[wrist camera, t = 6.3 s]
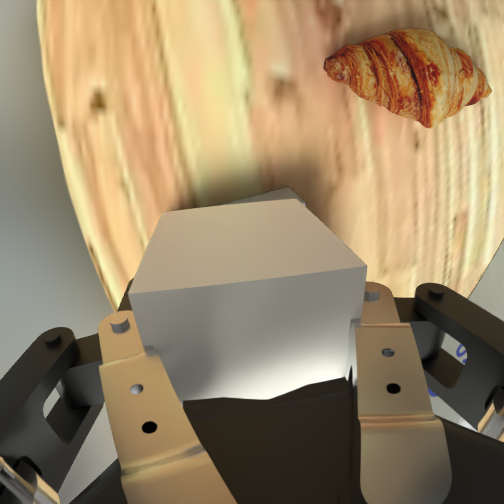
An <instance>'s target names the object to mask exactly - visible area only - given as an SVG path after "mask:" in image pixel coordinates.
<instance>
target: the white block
mask: <svg viewBox="0 0 504 504" xmlns="http://www.w3.org/2000/svg"><path fill="white" fill-rule="evenodd" d="M366 274H367V265H366V264H365V263H364V262H363V261H362V260H361V259H360V258H359V257H358V256H357V255H356V254H355V253H354V252H353V251H352V250H351V249H350V248H349V247H348V246H347V245H346V244H345V243H344V242H343V241H342V240H340V239H339V238H338V237H337V236H336V235H335V234H334V233H333V232H332V231H331V230H330V229H329V228H328V227H327V226H326V225H325V224H323V223H322V222H321V221H320V220H319V219H318V218H317V217H316V216H315V215H314V214H313V213H312V212H310V211H309V210H308V209H307V208H306V207H305V206H304V205H303V204H302V203H301V202H299V201H298V200H297V199H284V200H273V201H261V202H251V203H240V204H230V205H221V206H211V207H202V208H194V209H185V210H177V211H169V212H163V213H162V215H161V217H160V219H159V222H158V224H157V226H156V228H155V230H154V233H153V235H152V237H151V239H150V242H149V244H148V246H147V249H146V251H145V253H144V256H143V258H142V260H141V263H140V265H139V267H138V270H137V272H136V275H135V277H134V280H133V282H132V285H131V287H130V290H129V292H128V296H129V300H130V304H131V307H132V311H133V314H134V318H135V321H136V325H137V328H138V331H139V334H140V338H141V341H142V344H143V346H148V345H153V347H154V349H156V350H157V352H158V354H159V357H160V359H161V361H162V364H163V366H164V368H165V371H166V373H167V375H168V377H169V380H170V382H171V384H172V386H173V388H174V391H175V393H176V395H177V397H178V399H179V401H180V403H181V406H182V408H183V401H184V400H197V399H209V398H219V397H230V398H244V399H271V398H274V397H277V396H279V395H282V394H285V393H287V392H290V391H292V390H295V389H298V388H300V387H303V386H305V385H308V384H313V383H318V382H323V381H327V380H332V379H337V378H341V377H345V372H346V366H347V360H348V350H349V327H350V319H356V318H361V316H362V309H363V301H364V292H365V283H366Z"/></svg>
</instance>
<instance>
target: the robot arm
mask: <svg viewBox="0 0 504 504" xmlns="http://www.w3.org/2000/svg"><path fill="white" fill-rule="evenodd" d="M133 280H134V278H133V279H132V280H131V281H130V282H129V284H128V286H127V289H126V291H125V293H124V297H123V298H122V301H121V303H120V306H119V308H118V311H117V312H115V313H113V314H110V315H108V316H107V317H105V318H104V319H103V320H102V321H101V322H100V324H99V326H98V333H97V334H94V335H91V336H88V337H84V338H80V339H76V338H75V336H74V333H73V332H72V330H71V329H69V328H65V327H57V328H53V329H50V330H48V331H46V332H44V333H42V334H41V335H40V336H39V337H38V338H37V339H36V340H35V341H34V342H33V343H32V344H31V346H30V347H29V348H28V349H27V350H26V351H25V352H24V353H23V355H22V356H21V357H20V358H19V359H18V360H17V362H16V363H15V364H14V365H13V366H12V367H11V369H10V370H9V371H8V372H7V373H6V374H5V375H4V377H3V378H2V379H1V380H0V504H60V501H59V497H58V495H57V494H58V491H59V489H60V487H61V485H62V483H63V481H64V479H65V477H66V475H67V473H68V472H69V470H70V468H71V465H72V464H73V461H74V460H75V458H76V456H77V454H78V452H79V450H80V448H81V446H82V444H83V443H84V441H85V439H86V437H87V435H88V433H89V431H90V429H91V428H92V426H93V424H94V422H95V420H96V418H97V417H98V415H99V413H100V411H101V409H102V407H103V404H104V402H105V404H106V409H107V413H108V418H109V423H110V427H111V431H112V435H113V439H114V443H115V447H116V451H117V455H118V458H117V459H116V460H115V461H114V462H113V463H112V464H111V465H110V466H109V467H108V468H107V469H106V470H105V471H104V472H103V473H102V474H101V475H99V476H98V477H97V478H96V479H95V480H94V481H93V482H92V483H91V484H90V485H89V486H88V487H87V488H86V489H84V490H83V492H81V493H80V494H79V495H78V496H77V497H76V498H75V499H73V500H72V501H71V502H70V503H69V504H504V321H502V320H501V319H499V318H498V317H496V316H494V315H493V314H491V313H490V312H488V311H486V310H485V309H483V308H481V307H480V306H478V305H477V304H475V303H473V302H472V301H470V300H468V299H467V298H465V297H463V296H462V295H460V294H458V293H456V292H455V291H453V290H451V289H450V288H448V287H446V286H444V285H441V284H436V283H424V284H421V285H419V286H418V287H417V288H416V291H415V297H414V298H397V297H393V295H392V292H391V290H390V289H389V288H388V287H386V286H384V285H382V284H379V283H375V282H366V283H365V292H364V301H363V309H362V316H361V318H356V319H350V327H349V350H348V360H347V366H346V372H345V377H341V378H337V379H332V380H327V381H323V382H318V383H313V384H308V385H305V386H303V387H300V388H298V389H295V390H292V391H290V392H287V393H285V394H282V395H279V396H277V397H274V398H271V399H244V398H230V397H219V398H209V399H197V400H184V401H183V408H182V406H181V403H180V401H179V399H178V397H177V395H176V393H175V391H174V388H173V386H172V384H171V382H170V380H169V377H168V375H167V373H166V371H165V368H164V366H163V364H162V361H161V359H160V357H159V354H158V352H157V350H156V349H154V347H153V345H148V346H143V344H142V341H141V338H140V334H139V331H138V328H137V325H136V321H135V318H134V314H133V311H132V307H131V304H130V300H129V296H128V292H129V290H130V287H131V285H132V282H133ZM446 333H447V334H448V335H450V336H451V337H452V338H454V339H455V340H457V341H458V342H459V343H461V344H462V345H463V346H464V347H465V349H466V352H467V359H466V362H465V365H464V364H462V363H461V362H460V361H458V360H457V359H456V358H455V357H453V356H452V355H451V354H449V353H448V352H447V351H445V350H444V349H443V348H441V346H442V343H443V340H444V337H445V334H446ZM427 387H428V388H429V389H430V390H431V391H433V392H434V393H435V394H436V395H437V396H438V397H439V398H441V399H442V400H443V401H444V402H445V403H446V404H447V405H448V406H450V407H451V408H452V409H453V410H454V411H455V412H456V413H457V414H459V415H460V416H461V417H462V418H463V419H464V420H465V421H466V422H468V423H469V424H470V425H471V426H472V427H473V428H474V429H475V430H476V431H478V432H476V431H474V430H471V429H469V428H466V427H464V426H461V425H459V424H457V423H454V422H452V421H449V420H447V419H445V418H442V417H440V416H438V415H435V414H434V413H433V410H432V405H431V401H430V396H429V392H428V388H427ZM54 388H56V389H57V391H58V393H59V395H60V398H59V399H58V401H57V402H56V404H55V405H54V407H53V408H52V410H51V411H50V413H49V414H48V416H47V417H46V419H45V417H44V415H43V406H44V403H45V401H46V399H47V398H48V396H49V395H50V394H51V392H52V391H53V389H54Z"/></svg>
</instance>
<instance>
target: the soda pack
mask: <svg viewBox="0 0 504 504" xmlns="http://www.w3.org/2000/svg"><path fill="white" fill-rule="evenodd" d="M468 300H470V301H472V302H473V303H475V304H477V305H478V306H480V307H481V308H483V309H485V310H486V311H488V312H490V313H491V314H493V315H494V316H496V317H498V318H499V319H501V320H502V321H504V239H503V241H502V243H501V245H500V247H499V249H498V250H497V252H496V254H495V256H494V257H493V259H492V261H491V263H490V264H489V266H488V268H487V269H486V271H485V273H484V274H483V276H482V278H481V279H480V281H479V283H478V284H477V286H476V287H475V289H474V290H473V292H472V294H471V295H470V297H469V298H468ZM441 348H443V349H444V350H445V351H447V352H448V353H449V354H451V355H452V356H453V357H455V358H456V359H457V360H458V361H460V362H461V363H462V364H464V365H465V362H466V359H467V352H466V349H465V347H464V346H463V345H462V344H461V343H459V342H458V341H457V340H455V339H454V338H452V337H451V336H450V335H448V334H447V333H446V334H445V337H444V340H443V343H442V346H441ZM427 388H428V387H427ZM428 392H429V396H430V401H431V405H432V410H433V413H434V414H435V415H438V416H440V417H442V418H445V419H447V420H449V421H452V422H454V423H457V424H459V425H461V426H464V427H466V428H469V429H471V430H474V431H476V430H475V429H474V428H473V427H472V426H471V425H470V424H469V423H468V422H466V421H465V420H464V419H463V418H462V417H461V416H460V415H459V414H457V413H456V412H455V411H454V410H453V409H452V408H451V407H450V406H448V405H447V404H446V403H445V402H444V401H443V400H442V399H441V398H439V397H438V396H437V395H436V394H435V393H434V392H433V391H431V390H430V389H429V388H428ZM476 432H478V431H476Z"/></svg>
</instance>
